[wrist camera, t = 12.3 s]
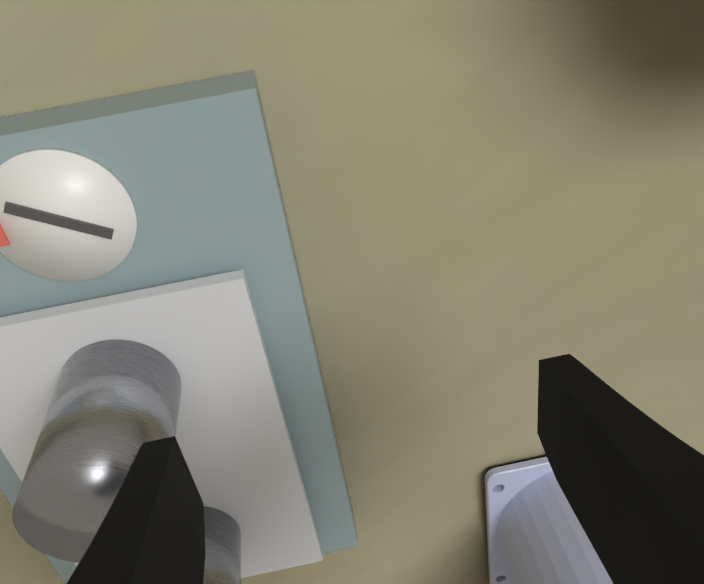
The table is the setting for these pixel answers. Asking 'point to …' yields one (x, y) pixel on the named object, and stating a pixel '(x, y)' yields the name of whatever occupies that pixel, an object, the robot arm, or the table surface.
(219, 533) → the cylinder
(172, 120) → the scale
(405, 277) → the table surface
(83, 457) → the cylinder
